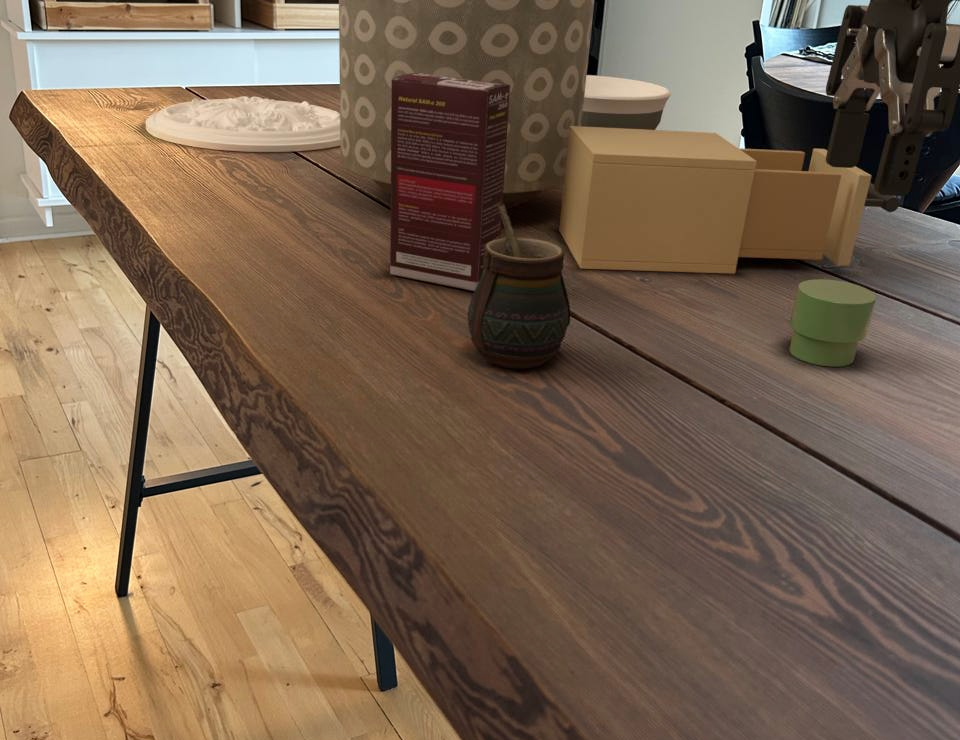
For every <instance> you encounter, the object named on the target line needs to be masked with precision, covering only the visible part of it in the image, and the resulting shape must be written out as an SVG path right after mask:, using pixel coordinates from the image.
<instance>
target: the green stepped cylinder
mask: <svg viewBox="0 0 960 740" xmlns="http://www.w3.org/2000/svg"><path fill="white" fill-rule="evenodd" d="M876 301H877V295H876V294H875V293H874V292H873V291H872V290H869V289H868V288H866V287H865V286H864V287H863V286H861V285H858V284H854V283H851V282H847V281H841V280H836V279H823V278H822V279H819V278H817V279H808V280H803V281H801V282H800V283H798V285H797V289H796V295H795V298H794V303H793V308H792V311H791V316H790V320H789V327H790V328H791V329H792V330H793V332H792V336H791V339H790V344H789V353H790V354H791V355H792V356H793V357H795V358H796V359H798V360H800V361H803V362H805V363H808V364H812V365H816V366H821V367H830V368H831V367H833V368H839V367H846V366H849V365H851V364H852V363H853V362H854V361H855V357H856V354H857V350H858V347H859V342H862V341H863V340H865V339H866V338H867V334H868V330H869V326H870V323H871V320H872V315H873V312H874V308H875V304H876ZM853 364H854V363H853Z"/></svg>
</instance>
